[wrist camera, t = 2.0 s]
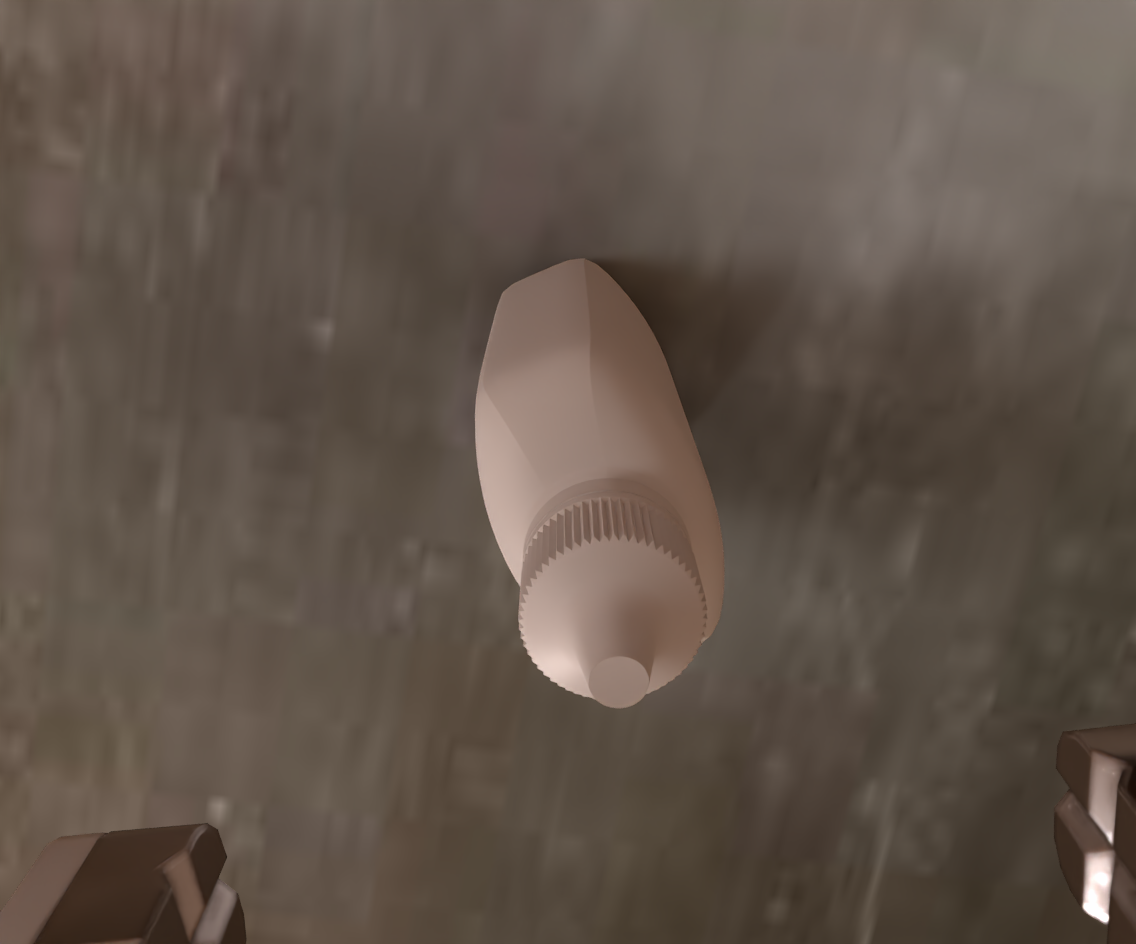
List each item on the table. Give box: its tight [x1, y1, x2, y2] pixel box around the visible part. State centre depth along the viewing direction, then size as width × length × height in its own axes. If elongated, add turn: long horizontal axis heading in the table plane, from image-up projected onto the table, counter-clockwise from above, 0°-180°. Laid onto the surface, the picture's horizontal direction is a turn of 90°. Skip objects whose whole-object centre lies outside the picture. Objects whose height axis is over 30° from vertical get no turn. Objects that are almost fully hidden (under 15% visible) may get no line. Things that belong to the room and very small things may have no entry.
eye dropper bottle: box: [475, 258, 724, 708], centre depth 18 cm, size 4×6×12 cm
